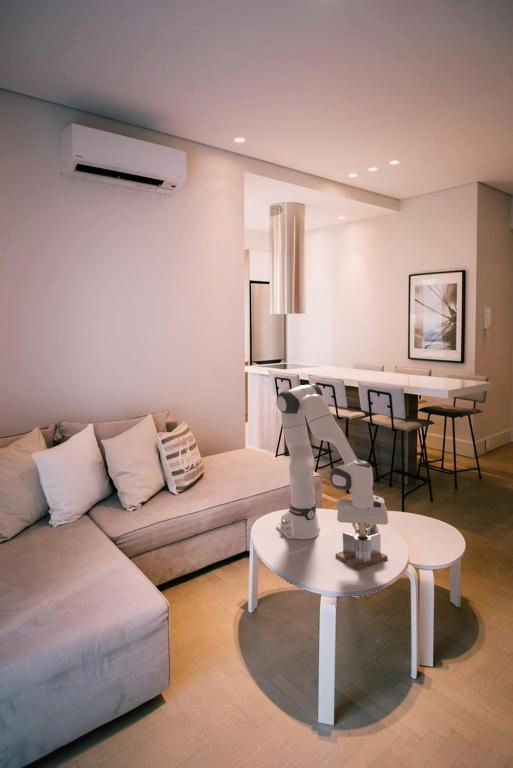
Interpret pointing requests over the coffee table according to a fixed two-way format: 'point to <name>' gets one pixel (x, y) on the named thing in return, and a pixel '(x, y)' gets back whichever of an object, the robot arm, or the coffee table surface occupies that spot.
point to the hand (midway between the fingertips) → (362, 533)
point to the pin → (362, 531)
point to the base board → (358, 565)
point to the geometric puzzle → (372, 530)
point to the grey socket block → (361, 546)
